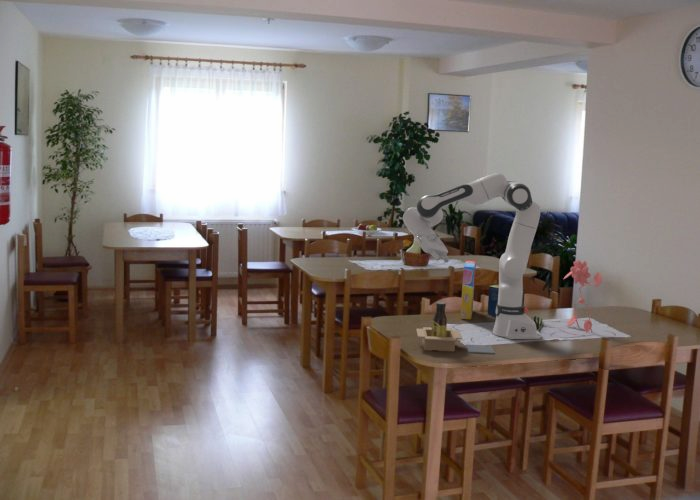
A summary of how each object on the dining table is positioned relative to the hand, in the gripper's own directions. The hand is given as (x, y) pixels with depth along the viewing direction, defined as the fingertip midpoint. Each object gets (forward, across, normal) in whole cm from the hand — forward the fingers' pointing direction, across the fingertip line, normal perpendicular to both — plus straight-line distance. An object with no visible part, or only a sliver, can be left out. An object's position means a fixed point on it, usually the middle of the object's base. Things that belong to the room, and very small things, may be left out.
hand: (442, 260), depth 336 cm
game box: (+10, +56, +24) cm, 62 cm away
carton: (+31, -5, +24) cm, 39 cm away
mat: (+42, +2, +11) cm, 43 cm away
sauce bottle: (+31, -5, +24) cm, 39 cm away
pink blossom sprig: (+48, +64, -14) cm, 81 cm away
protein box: (+20, +68, +11) cm, 71 cm away
